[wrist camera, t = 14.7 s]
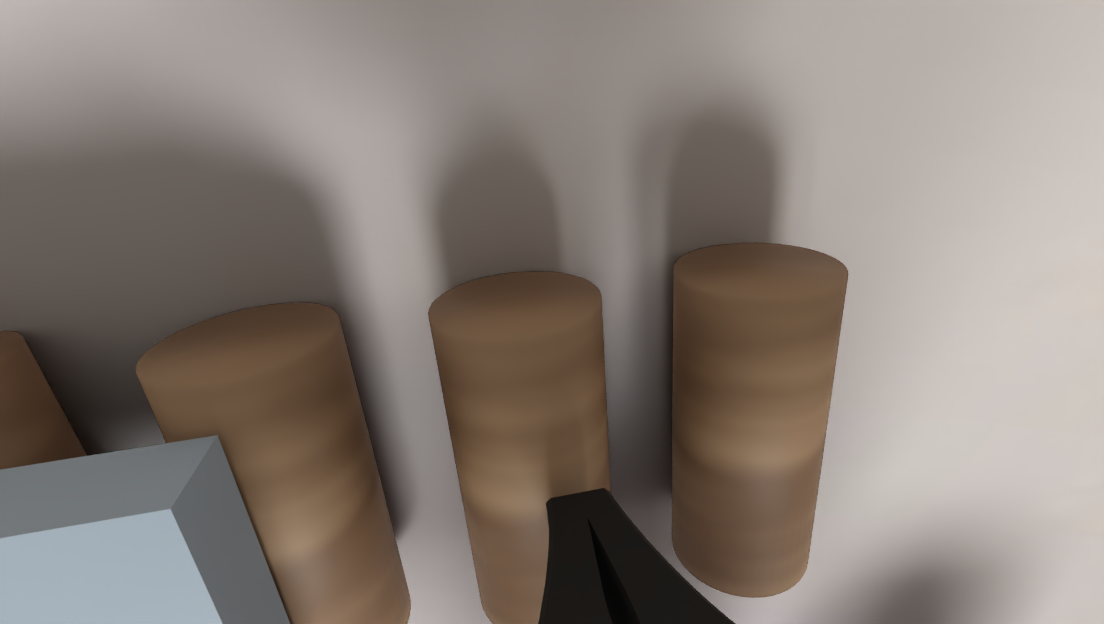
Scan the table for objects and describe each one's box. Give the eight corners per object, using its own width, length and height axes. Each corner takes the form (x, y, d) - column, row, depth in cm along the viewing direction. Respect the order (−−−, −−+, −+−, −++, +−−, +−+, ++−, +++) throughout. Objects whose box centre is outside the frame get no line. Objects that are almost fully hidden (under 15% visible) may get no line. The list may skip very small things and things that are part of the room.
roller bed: (764, 486, 19) (837, 581, 16) (-156, 663, 16) (-334, 836, 12) (787, 235, 16) (888, 283, 12) (-395, 392, 12) (-744, 524, 9)
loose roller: (190, 581, 17) (143, 702, 14) (50, 620, 17) (-37, 759, 13) (56, 318, 14) (-51, 395, 10) (-131, 352, 13) (-314, 446, 10)
